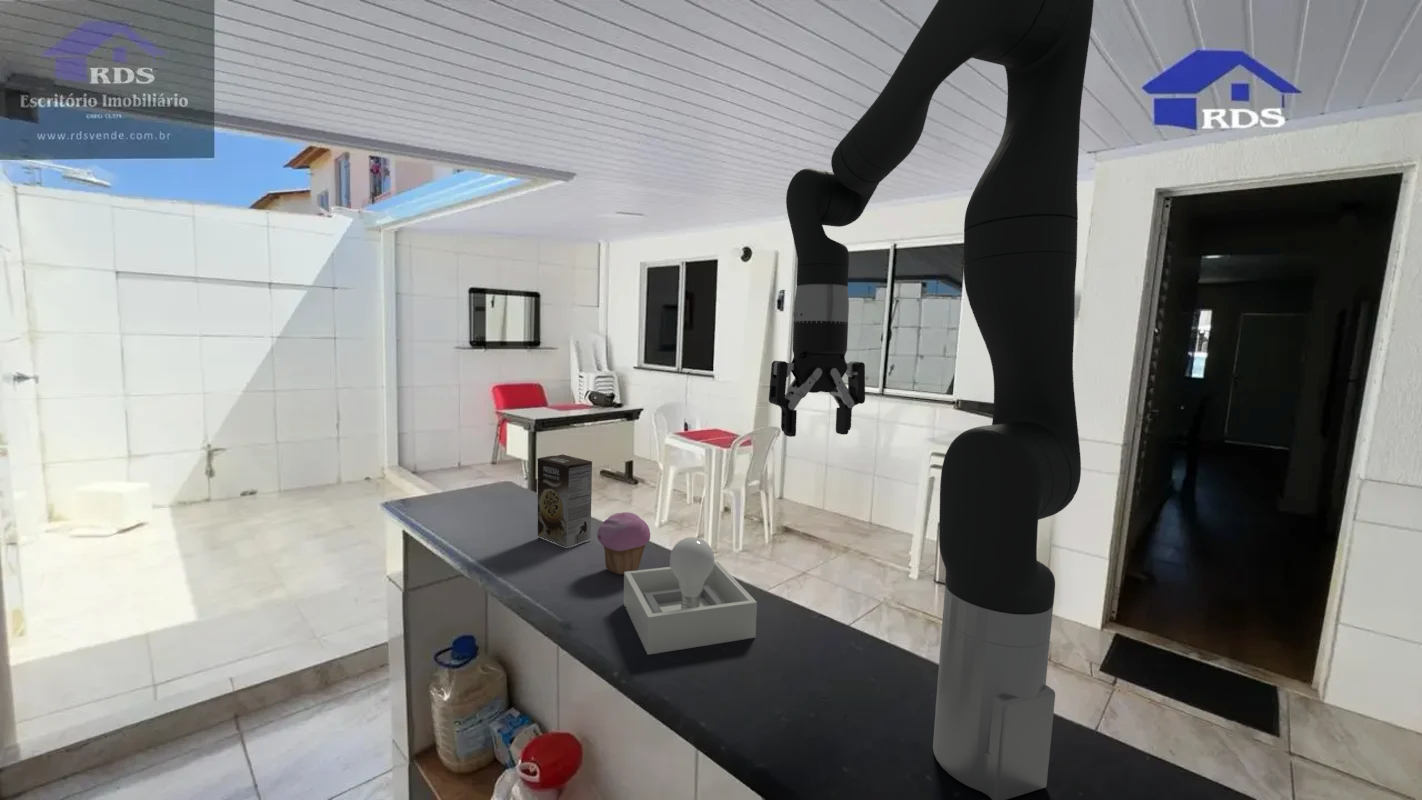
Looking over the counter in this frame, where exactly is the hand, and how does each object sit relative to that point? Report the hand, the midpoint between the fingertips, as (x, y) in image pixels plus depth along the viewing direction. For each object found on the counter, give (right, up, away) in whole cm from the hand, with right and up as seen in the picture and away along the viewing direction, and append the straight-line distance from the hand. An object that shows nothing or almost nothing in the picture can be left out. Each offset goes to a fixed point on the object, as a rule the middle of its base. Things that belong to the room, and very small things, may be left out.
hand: (816, 434), depth 84 cm
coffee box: (-44, -23, +32) cm, 59 cm away
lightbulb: (-18, -26, +1) cm, 31 cm away
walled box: (-18, -27, +1) cm, 32 cm away
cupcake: (-30, -25, +18) cm, 43 cm away
